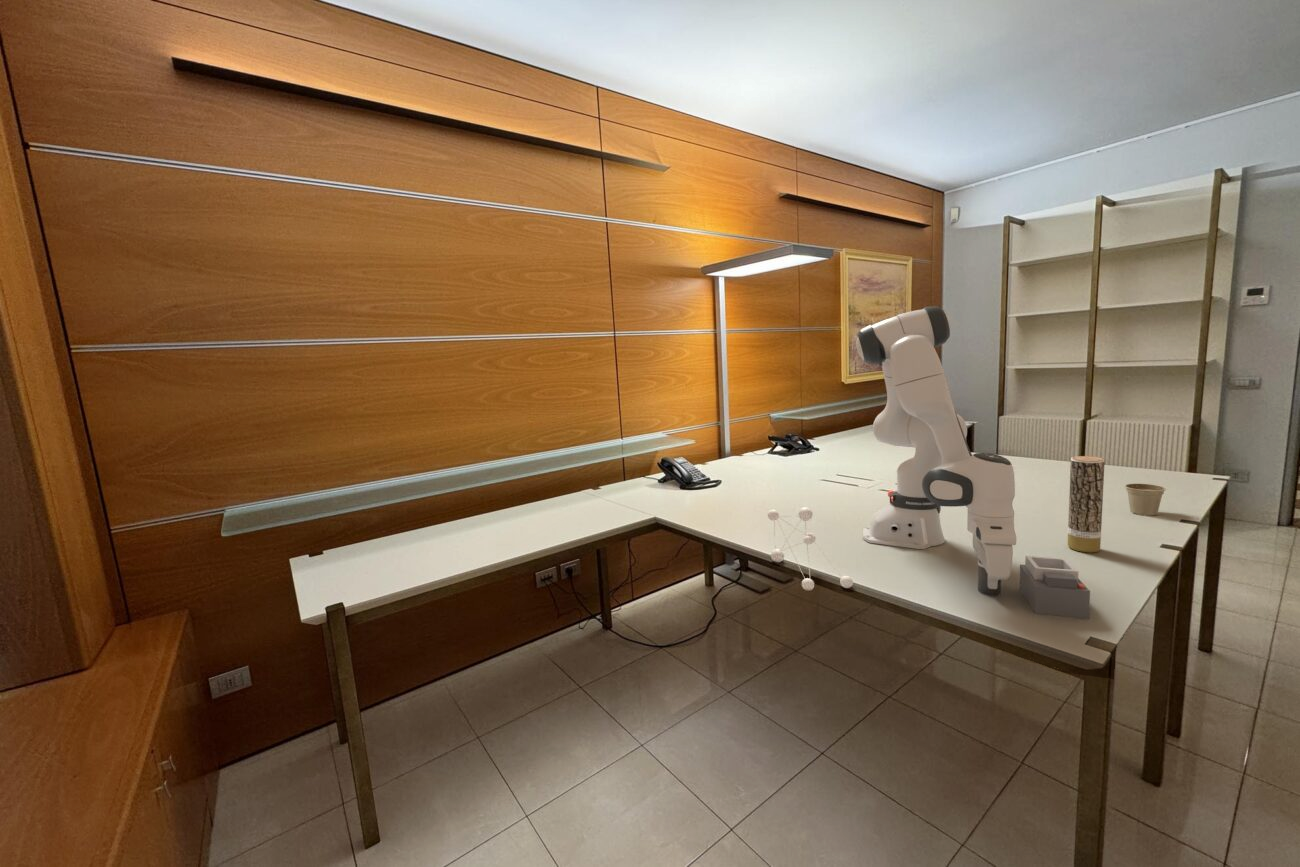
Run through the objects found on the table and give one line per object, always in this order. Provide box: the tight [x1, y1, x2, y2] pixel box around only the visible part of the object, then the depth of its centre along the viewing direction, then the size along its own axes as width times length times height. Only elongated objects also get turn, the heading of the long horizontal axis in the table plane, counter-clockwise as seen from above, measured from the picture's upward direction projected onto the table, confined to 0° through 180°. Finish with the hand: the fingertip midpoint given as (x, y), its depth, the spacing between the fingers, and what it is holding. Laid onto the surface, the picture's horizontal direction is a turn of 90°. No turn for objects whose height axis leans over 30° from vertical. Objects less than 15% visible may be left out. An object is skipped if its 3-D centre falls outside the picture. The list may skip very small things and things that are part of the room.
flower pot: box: [1124, 482, 1167, 517], centre depth 161 cm, size 9×9×9 cm
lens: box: [977, 559, 1002, 597], centre depth 117 cm, size 5×5×7 cm
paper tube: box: [1067, 455, 1106, 554], centre depth 136 cm, size 7×7×25 cm
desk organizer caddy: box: [1018, 555, 1091, 620], centre depth 110 cm, size 12×9×8 cm
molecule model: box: [767, 506, 854, 591], centre depth 133 cm, size 14×25×18 cm, turn 18°
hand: (989, 582), depth 117 cm, fingers open, 5 cm apart
